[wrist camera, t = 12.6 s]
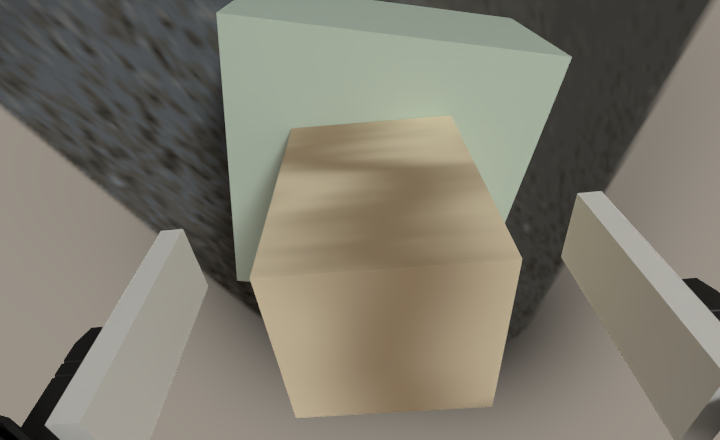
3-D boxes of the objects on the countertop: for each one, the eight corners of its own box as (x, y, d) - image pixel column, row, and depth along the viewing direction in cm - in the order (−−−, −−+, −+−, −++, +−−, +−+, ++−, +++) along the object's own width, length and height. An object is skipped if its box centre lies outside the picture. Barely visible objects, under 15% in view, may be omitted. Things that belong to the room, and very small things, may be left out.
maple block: (314, 248, 19) (296, 417, 13) (291, 128, 16) (249, 278, 9) (444, 239, 19) (492, 406, 13) (451, 115, 15) (522, 259, 9)
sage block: (261, 201, 26) (237, 280, 20) (256, -16, 19) (216, 12, 13) (448, 217, 27) (474, 297, 21) (509, 17, 20) (571, 57, 14)
